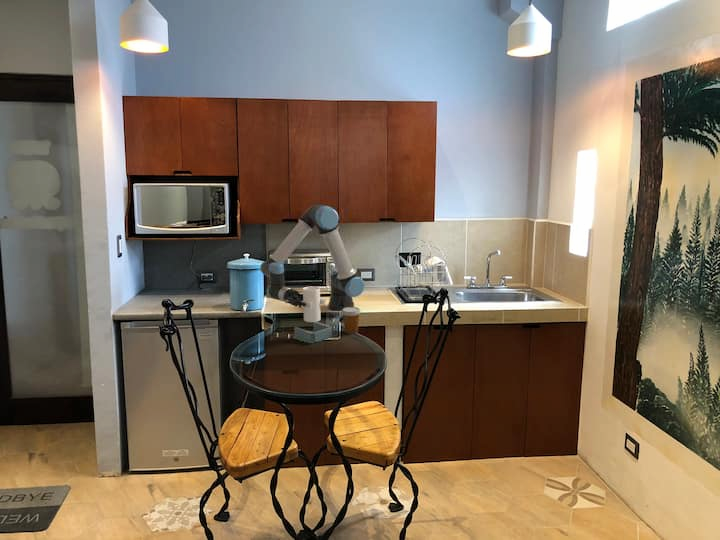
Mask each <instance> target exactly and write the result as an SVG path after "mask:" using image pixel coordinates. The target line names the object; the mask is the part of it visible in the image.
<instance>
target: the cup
mask: <svg viewBox="0 0 720 540" xmlns="http://www.w3.org/2000/svg"><path fill="white" fill-rule="evenodd" d="M302 294H303V301H306V302H310V303H312V308H311V309H310V308H307V307H303V306H302V309H303V321H305V322H307V323H313V322H319V321H321V304H320V298H321V289H320V287H319V286H311V285H310V286H306V287H303V288H302Z"/></svg>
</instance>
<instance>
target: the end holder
mask: <svg viewBox="0 0 720 540" xmlns="http://www.w3.org/2000/svg"><path fill="white" fill-rule="evenodd" d="M312 325H313V330H306V329H304V328H301V327H298V326H296V327H293V329H294V330H293V331H294V332H293V333H294V335H293V336H292V338H293V339H295V340H298V341H301V342H303V341H304V343H306V342H308V343H307V344H309V343H314V342H317V343H319V342H318V341H320V342H322V340H323V341H326V340H329V339H332V338H335V337H337V335H336V334H335V327H334V326H332V325H329V324H325V323H322V322H319V321H317V322H312ZM328 338H329V339H328ZM314 344H315V343H314Z"/></svg>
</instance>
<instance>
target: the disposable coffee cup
mask: <svg viewBox="0 0 720 540" xmlns="http://www.w3.org/2000/svg"><path fill="white" fill-rule="evenodd" d="M341 313H342V318H343V324H344V331H345V332H344V333H346V334H347V335H354V334H357V333H358V332H359V323H360V322H359V321H360V316H361V315H360V314H361V310H360V308H358V307H355V306H354V307H347V308H344V309H343V310H342V311H341Z"/></svg>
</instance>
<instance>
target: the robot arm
mask: <svg viewBox="0 0 720 540" xmlns="http://www.w3.org/2000/svg"><path fill="white" fill-rule="evenodd" d="M315 228H316V230H317V232H318V234H319V235H320V236H322V237H323V240H324V242H325V245H326V247H327V249H328V252H329V254H330V257H331V259H332V262H333V264H334V267H335V269H332V270H331V271H330V298H329V302H328V304H327V305H328V306H327V307H328V309H329V310H331V311H335V310H343V309H344V308H347V307H355V303H354V300H353V298H356V297H359V296H360V295H361V294H363V292H364V290H365V287H366V285H365V281H364V280H363V278H362V277H360V275H359V273H358V271H357V269H356V268H355V267H353V265H352V263H351V260H350V257H349V255H348V252H347V250H346V247H345V245H344V242H343V240H342V238H341V235H340V232H339V228H340V225H339V214H338V212H337V211H336V210H335V209H334V208H333V207H331V206H329V205H321V204H313V205H311V206H310V207H309V208H307V210H305V211H304V212H303V214H301V216H300V217H299V218H298V223H297V224H296V225H295V227H294V228H293V229H292V230H291V231H290V232H289V234H288V235H287V236H286V237H285V238H284V240H283V241H282V242H281V244H280V245H279V246H278V247H277V248H276V249H275V251H274V252H273V253H272V254H271V256H270V257H269V258H267V260H266V261H265V260H264V261H263V262H261V264H260V267H259V269H260V272H261V273H262V274H263V275H264V276H265V277H268V278H269V285H268V286H267V287H266V295H267V296H268V298H271V299H273V300H278V301H280V302H284V304H289V305H291V306H293V307H296V308H297V307H298V308H303V307H307V308H310V309H311V308H312V303H310V302H306V301H303V293H299V291H298V290H297V289H293V288H290V287H286V286H285V268H284V266H285V265H284V263H285V262H286V260H288V258H289V257H290V255H291V254H293V252H294V251H295V249H296V248H297V247H298V246H299V245H300V244H301V242H302V241H303V239H305V238H306V236H307V234H309V232H312V231H313V230H314V229H315ZM320 305H323V306H325V305H326V299H325V298H323V297H320Z"/></svg>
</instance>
